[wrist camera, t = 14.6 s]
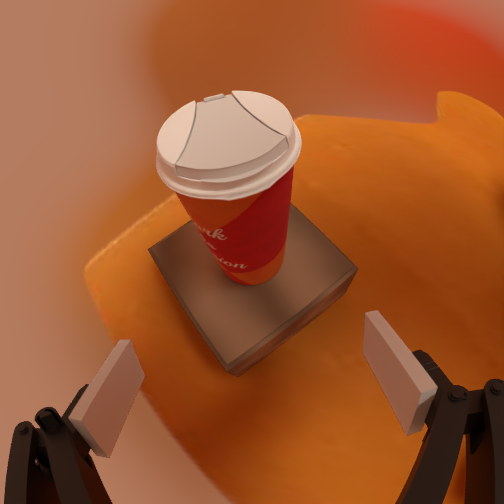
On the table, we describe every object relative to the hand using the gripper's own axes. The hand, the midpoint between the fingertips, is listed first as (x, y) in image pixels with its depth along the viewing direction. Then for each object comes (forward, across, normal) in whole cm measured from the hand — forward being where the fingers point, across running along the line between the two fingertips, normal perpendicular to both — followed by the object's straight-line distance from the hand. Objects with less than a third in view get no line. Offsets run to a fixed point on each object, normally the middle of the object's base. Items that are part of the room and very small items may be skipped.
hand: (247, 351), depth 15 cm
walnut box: (+16, 0, -3) cm, 16 cm away
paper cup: (+12, 0, +2) cm, 12 cm away
